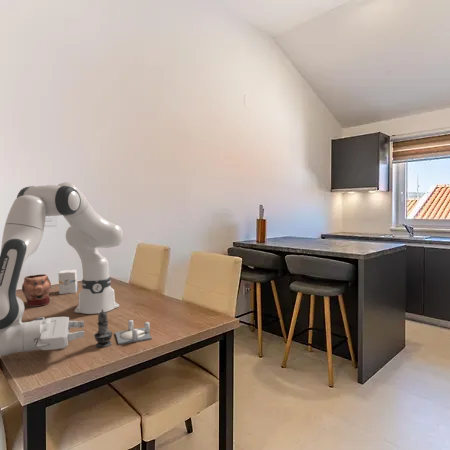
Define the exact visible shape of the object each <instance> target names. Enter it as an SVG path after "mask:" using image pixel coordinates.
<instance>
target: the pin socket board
mask: <svg viewBox="0 0 450 450" xmlns="http://www.w3.org/2000/svg"><path fill="white" fill-rule="evenodd" d="M127 322H128V324H127V325H128V326H127V327H128V330H122V331H121V330H119V331H115V332H114V334H115V337H116V341H117V344H118V345H125V344H131V343H132V344H133V343H138V342H144V341H150V340H153V339H152V336H151V332H150V331H151V327H150V323H151V322H149V321H146V322H144V327H139V328H134V320H133V319H130V320H128V321H127Z"/></svg>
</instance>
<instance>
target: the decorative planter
mask: <svg viewBox="0 0 450 450" xmlns="http://www.w3.org/2000/svg"><path fill="white" fill-rule="evenodd" d="M23 279H24V281H23V283H22V285H21V291H22V294H23V296H24V297H25V300H26V305H27V306H28V307H39V306H45V305H49V304H50V301H51V300H50V298H51V297H50V295H49V294H50V291H51V289H52V284H51V281H50V279H49V276H48V275H47V274H43V273H41V274H33V275H28V276H25V277H24V278H23Z"/></svg>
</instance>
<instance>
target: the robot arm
mask: <svg viewBox="0 0 450 450" xmlns="http://www.w3.org/2000/svg"><path fill="white" fill-rule="evenodd" d="M56 216H63V217H64V219H65V220H66V222H68V224H69V225H70V226H69V227H68V228H67V230H66V233H65V240H66V242H67V244H68V245H69V246H70V247H72V248H73V249H74V250H75V252H76V253H77V255H78V257H79V260H80V262H81V267H82V269H81V270H82V279H81V287H82V289H81V291H80V292H79V293H78V296H77V298H78V300H79V301H78V305H77V306H76V308H75V309H74V313H78V314H79V313H80V314H85V315H86V314H87V315H95V314H99V313H100V312H102V311H101V310H102V309H103V310H104V312H106V313H107V312H110V311H112V310H114V309H117V308H120V304H119V303H118V302H116V299H115V298H116V297H115V296H116V294H115V289H113V287H112V286H111V284H112V283H111V282H112V280H111V277H110V265H109V264H110V263H109V260H108V259H107V257H106V256H103V255H102V254H101V253H100V252H99V250H98V249H102V248H103V249H108V248H109V249H110V248H113V247H119V246H120V245H121V244H122V241H123V239H124V231H123V229H122V227H121V226H120V225H119V224H116V223H113V222H111V221H109V220H108V219H105V218H104V217H103V216H101V215H100V214H99V213H98V212H96V210H95V209H94V208H93V207H92V205H91V203H90V202H89V201H88V199H87V198H86V196H85V195H84V193H83V192H82V191H81V190H80V189H79V188H78V187H77V186H76V185H75V184H73V183H72V182H67V181H66V182H61V183H59V184H57V185H56V184H55V185H53V184H46V185H29V186H27V187H23V188H21V189H20V190H19V191H18V193H17V195H16V198H15V200H14V201H13V203H12V205H11V207H10V209H9V212H8V214H7V217H6V220H5V223H4V228H3V233H2V240H1V248H0V357H1V356H3V357H4V356H8V355H11V354H14V353H28V352H34V351H39V350H41V351H50V350H51V351H52V350H59V349H60V350H61V349H64V348H67V347H68V344H69V342H71V341H72V342H73V341H74V340H77V339H80V338H84V337H85V330H84V329H82V330H77V331H74V332H70V329H73V328H79V329H80V328H84V327H85V322H84V320H70V317H69V316H53V317H46V318H45V317H44V316H42V317H37V318H35V319H34V320H30V321H23V318H24V317H23V316H24V312H25V303H24V302H23V300H22V299H21V298H20V296H17V289H18V285H19V281H20V277H21V274H22V269H23V266H24V264H25V262H26V261H27V259H29V258H30V256H32V255H33V254H35V252H37V251H38V249H39V246H40V244H41V241H42V238H43V236H44V232H45V231H44V229H45V226H46V218H47V217H56Z"/></svg>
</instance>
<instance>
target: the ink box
mask: <svg viewBox="0 0 450 450" xmlns="http://www.w3.org/2000/svg"><path fill="white" fill-rule="evenodd" d="M77 271H78V269H64V270H63V269H62V270H60V271H58V274H57V275H58V293H59V294H58V295H66V294H67V295H68V293H70V294H77V292H78V272H77Z"/></svg>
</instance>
